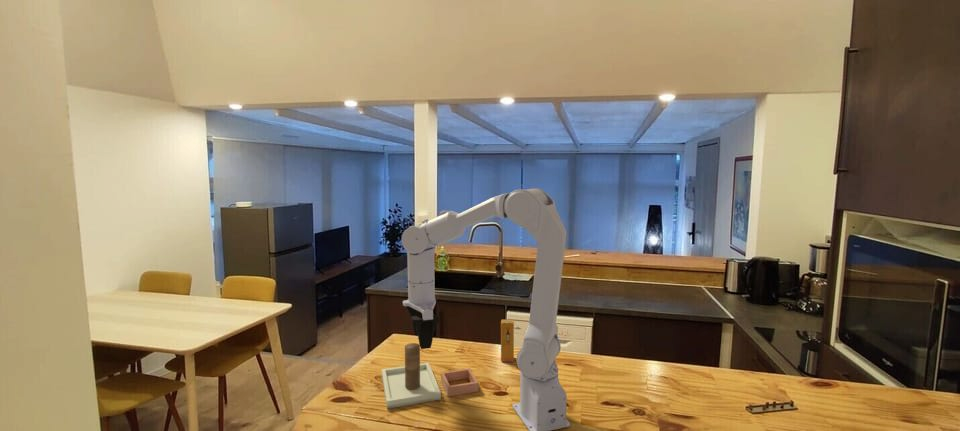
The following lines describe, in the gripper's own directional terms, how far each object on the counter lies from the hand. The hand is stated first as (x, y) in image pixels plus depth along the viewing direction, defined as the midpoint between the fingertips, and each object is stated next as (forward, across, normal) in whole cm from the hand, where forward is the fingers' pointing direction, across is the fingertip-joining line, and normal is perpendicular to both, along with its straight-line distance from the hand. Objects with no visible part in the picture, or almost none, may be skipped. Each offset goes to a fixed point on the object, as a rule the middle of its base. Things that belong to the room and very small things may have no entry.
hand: (422, 340), depth 88 cm
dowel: (+10, +1, -2) cm, 10 cm away
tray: (+10, 0, -3) cm, 11 cm away
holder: (+10, +3, +8) cm, 13 cm away
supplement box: (+11, -6, +23) cm, 26 cm away
